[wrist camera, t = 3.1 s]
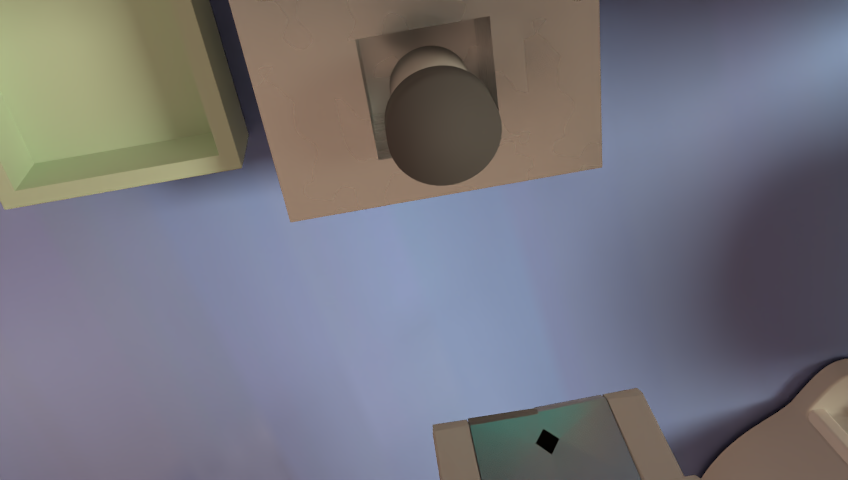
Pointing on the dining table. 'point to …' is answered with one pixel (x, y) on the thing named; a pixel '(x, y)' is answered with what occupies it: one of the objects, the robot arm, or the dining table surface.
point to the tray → (112, 97)
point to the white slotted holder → (369, 93)
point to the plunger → (440, 118)
